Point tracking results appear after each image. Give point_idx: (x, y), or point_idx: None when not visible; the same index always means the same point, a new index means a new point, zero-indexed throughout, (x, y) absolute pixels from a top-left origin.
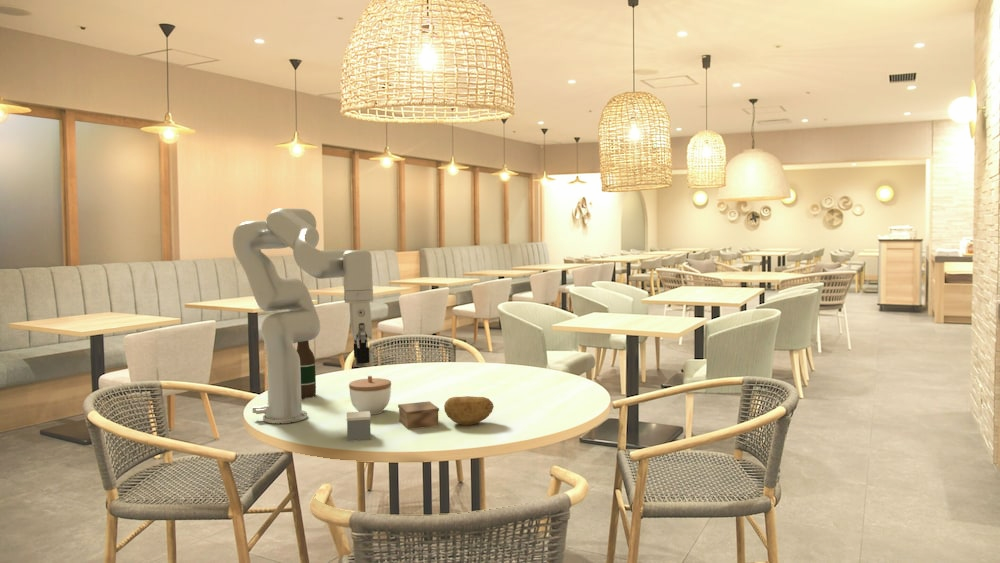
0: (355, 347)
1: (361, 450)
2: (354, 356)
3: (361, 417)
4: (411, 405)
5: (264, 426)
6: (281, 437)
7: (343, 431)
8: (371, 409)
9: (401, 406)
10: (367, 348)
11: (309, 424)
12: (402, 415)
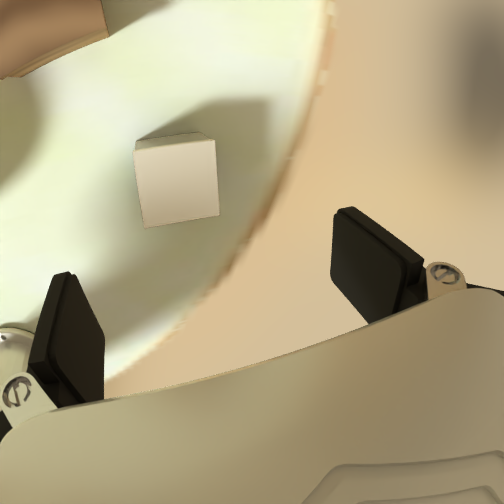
0: (99, 392)
1: (287, 149)
2: (101, 344)
3: (216, 169)
4: (19, 29)
5: None
6: (156, 336)
7: (108, 219)
8: None
9: (24, 60)
10: (418, 266)
11: None
12: (47, 56)
